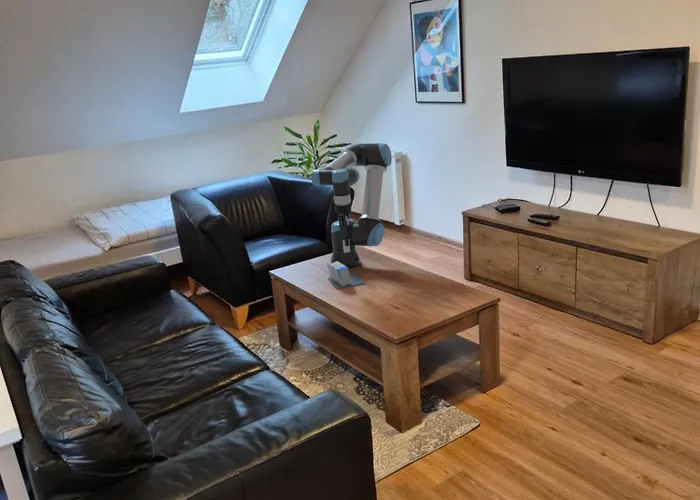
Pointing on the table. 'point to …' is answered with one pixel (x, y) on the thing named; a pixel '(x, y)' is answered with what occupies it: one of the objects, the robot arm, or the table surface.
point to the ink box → (339, 273)
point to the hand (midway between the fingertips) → (347, 251)
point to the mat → (354, 282)
